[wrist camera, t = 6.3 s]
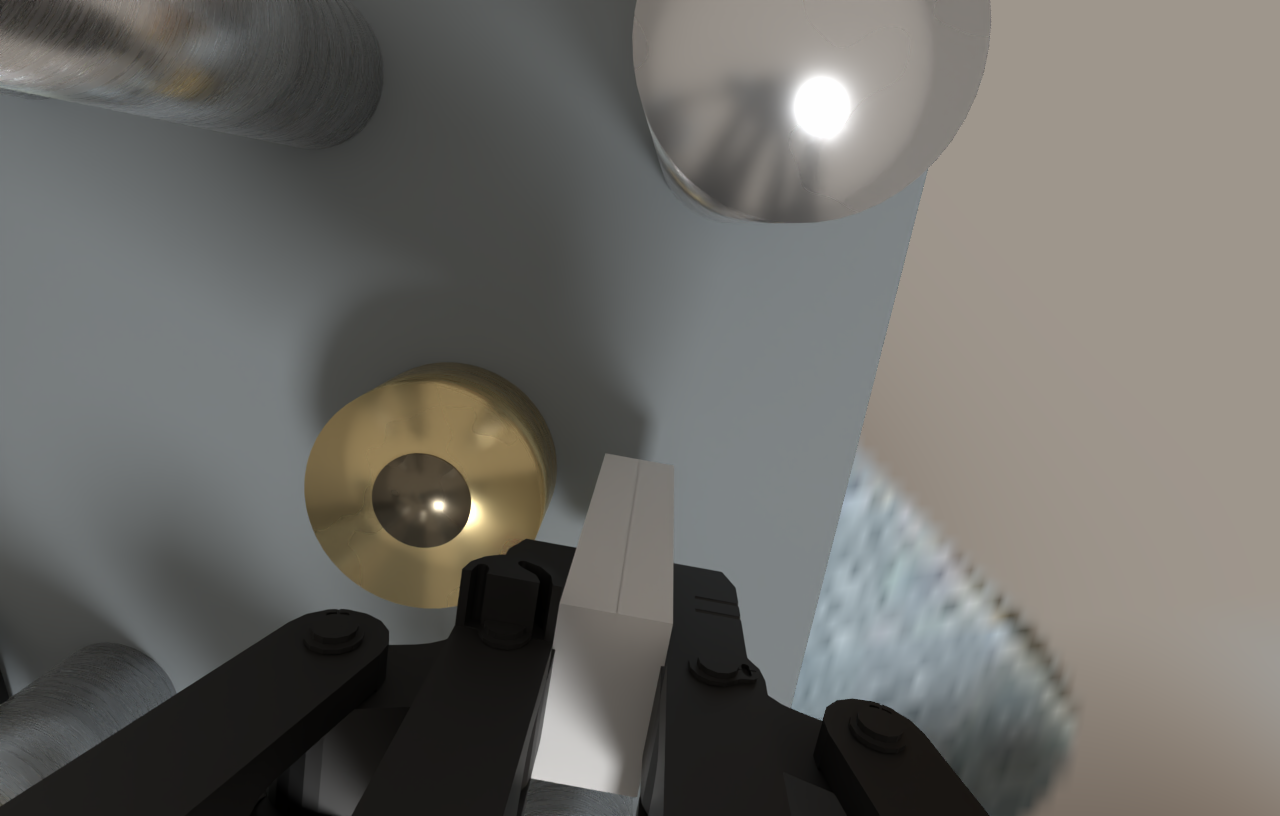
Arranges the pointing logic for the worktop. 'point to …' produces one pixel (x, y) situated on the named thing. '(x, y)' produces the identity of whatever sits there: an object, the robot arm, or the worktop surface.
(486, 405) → the nut
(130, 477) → the mat
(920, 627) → the worktop surface
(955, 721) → the worktop surface
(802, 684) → the worktop surface
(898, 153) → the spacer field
